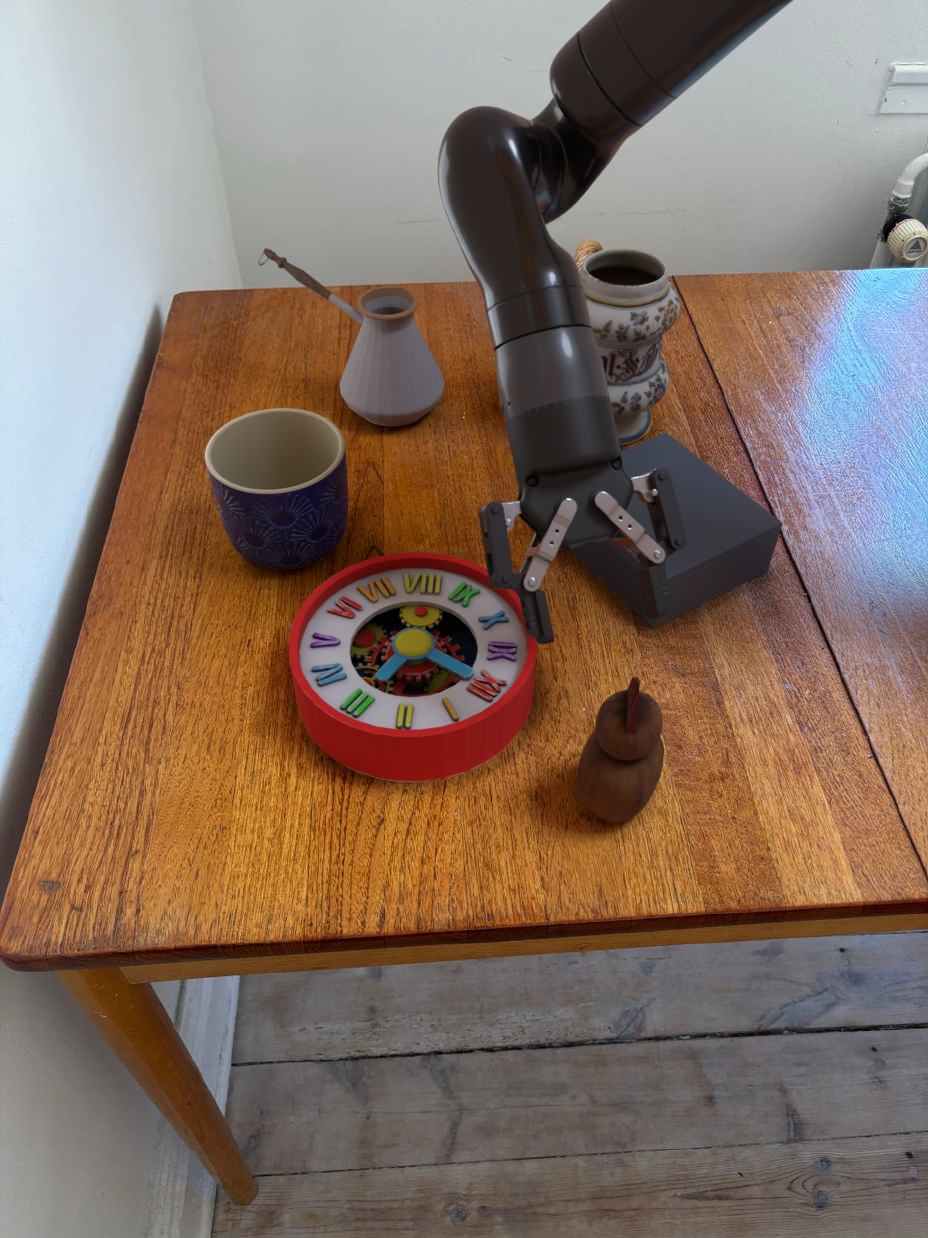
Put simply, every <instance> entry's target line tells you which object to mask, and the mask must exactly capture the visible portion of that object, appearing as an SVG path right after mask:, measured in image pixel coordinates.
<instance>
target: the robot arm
mask: <svg viewBox="0 0 928 1238" xmlns="http://www.w3.org/2000/svg"><path fill="white" fill-rule="evenodd" d="M793 1H794V0H609V1H608V2H607V3H606V4H605V5H604V6H603V7H602V8H601V9H600V10H598V11H597V13H595V14H594V16H592V17H591V18H590V19H589V20H588V21H587V22H586V23H585V24H584V25H583V26H582V27H581V28H580V29H579V30H577V31H576V32H575V33H574V34H573V35H572V36H571V37H570V38H569V39H568V40H567V41H566V42H565V43H564V45H563V46H562V47H561V48H560V49H559V51H558V52H557V53H556V55H555V56H554V57H553V60H552V62H551V64H550V68H549V72H548V74H549V75H548V77H549V86H550V91H551V93H552V98H551V100H550V101H549V102H548V103H547V105H546V106H545V108H543V109H542V110H541V112H539V113H538V114H537V115H536V116H534V117H533V118H531V119H529V118H527V117H524V116H522V115H519V114H516V113H514V112H511V111H509V110H507V109H505V108H504V109H503V108H500V107H498V106H490V105H479V106H474V107H470V108H468V109H466V110H465V111H463V112H461V113H459V114H458V115H457V116H456V117H455V118H454V119H453V120H452V122H450V124H449V125H448V127H447V129H446V130H445V132H444V135H443V137H442V140H441V143H440V147H439V151H438V157H437V183H438V189H439V194H440V199H441V202H442V206H443V209H444V212H445V215H446V217H447V219H448V220H447V221H448V223H449V225H450V227H451V230H452V232H453V234H454V237H455V239H456V241H457V243H458V245H459V247H460V249H461V253H462V254H463V257H464V259H465V261H466V263H467V266H468V268H469V270H470V272H471V273H472V275H473V276H472V277H473V278H474V280H475V281H476V282H477V285H478V287H479V289H480V292H481V295H482V298H483V299H482V300H483V304H484V311H485V315H486V321H487V326H488V331H489V334H490V339H491V343H492V349H493V352H494V354H493V355H494V361H495V372H496V373H495V375H496V385H497V391H498V396H499V408H500V412H501V414H502V416H503V420H504V424H505V429H506V433H507V434H506V435H507V438H508V443H509V448H510V453H511V458H512V462H513V467H514V472H515V477H516V481H517V485H518V496H517V499H516V500H514V501H508V502H507V501H506V502H499V501H497V500H494V501H490V502H488V503H485V504H483V505H481V507H480V508H479V509H478V520H479V525H480V534H481V539H482V546H483V553H484V559H485V565H486V568H487V573H488V580H489V584H490V585H491V586H492V587H493V588H500V589H507V590H512V591H514V592H516V593H517V595H518V596H519V599H520V604H521V609H522V614H523V617H524V622H525V628H526V631H527V633H528V634H529V636H530V637H534V638H536V640H537V645H548V644H552V643H555V634H554V630H553V625H552V620H551V615H550V611H549V606H548V601H547V596H546V591H545V590H544V589H543V590H541V588H540V587H541V585H542V583H543V580H544V578H545V575H546V574H547V571H548V570H549V566H550V565H551V564H552V563H553V562H554V560H555V558H556V556H557V554H558V552H564V551H569V550H570V549H574V548H579V547H581V546H583V545H585V544H589V545H591V544H597V543H602V542H606V541H610V539H611V540H612V541H613V542H614V543H615V544H617V545H618V546H620V547H622V548H624V549H625V550H626V551H627V552H628V553H629V554H630V555H631V556H632V557H634V558H635V559H636V560H637V561H638V562H639V563H640V566H641V568H638V569H637V574H638V579H639V584H640V588H641V593H642V598H643V603H644V608H645V613H646V615H647V617H648V618H654V619H656V618H660V617H665V616H666V608H667V607H670V603H671V596H670V592H669V587H668V582H667V577H666V572H665V566H664V564H665V560H666V559H667V557H668V556H670V555H671V554H673V553H674V552H676V551H677V550H681V549H683V548H684V547H685V546H686V543H687V539H686V535H685V532H684V528H683V524H682V520H681V516H680V512H679V509H678V505H677V501H676V497H675V493H674V489H673V485H672V482H671V478H670V474H669V472H668V471H667V470H666V469H665V468H659V469H654V470H651V471H649V472H647V473H645V474H643V475H640V476H637V477H633V478H630V477H629V476H628V475H627V473H626V472H625V470H624V468H623V465H622V456H621V451H622V450H621V446H620V445H619V440H618V435H617V430H616V425H615V420H614V416H613V410H612V406H611V401H610V396H609V391H608V386H607V381H606V376H605V372H604V367H603V363H602V359H601V355H600V352H599V350H598V347H597V344H596V341H595V338H594V335H593V331H592V329H591V328H592V326H591V321H590V316H589V311H588V306H587V301H586V296H585V291H584V287H583V283H582V279H581V275H580V268H579V266H578V263H577V261H576V259H575V258H574V257H573V255H572V254H571V253H570V252H569V251H568V250H567V249H565V248H564V247H563V246H561V245H560V244H559V243H557V242H556V241H555V239H553V238H552V236H551V234H550V232H549V230H548V228H547V225H548V224H551V223H552V222H554V221H557V220H558V219H559V218H560V217H562V216H564V215H565V214H566V213H567V212H568V211H570V210H571V209H572V208H573V207H574V206H575V205H576V204H577V203H578V202H579V201H580V200H581V199H582V198H583V196H584V195H585V194H586V193H587V191H588V190H589V189H590V188H591V187H592V185H593V184H594V183H595V181H597V179H598V178H599V177H600V175H601V174H602V173H603V172H604V171H605V170H606V168H607V167H608V166H609V164H610V163H611V162H612V160H613V159H614V157H615V156H616V154H618V151H619V150H620V149H621V147H622V146H623V145H624V143H625V142H626V141H627V140H628V139H629V138H630V137H632V135H634V134H636V133H637V132H638V131H639V130H641V129H642V128H643V127H645V125H646V124H647V125H648V123H650V122H651V121H652V120H653V119H655V117H657V116H658V115H659V114H660V113H661V112H663V111H664V110H665V109H666V108H667V107H669V106H670V105H671V104H672V103H674V101H676V100H677V99H678V98H679V97H681V95H683V94H684V93H686V92H687V91H688V90H689V89H690V88H691V87H692V86H694V85H695V84H696V83H697V82H698V81H700V80H701V79H702V78H703V77H704V76H705V75H707V74H708V73H709V72H710V71H712V69H713V68H715V67H716V66H717V65H718V64H719V63H721V62H722V61H723V60H724V59H725V58H726V57H728V55H730V54H731V53H732V52H733V51H735V50H736V49H737V48H738V47H739V46H740V45H741V44H743V43H744V42H745V41H747V39H749V38H750V37H751V36H752V35H754V34H755V33H756V32H757V31H758V30H759V29H760V28H761V27H763V26H765V24H766V23H767V22H769V21H770V20H771V19H772V18H774V17H775V16H776V15H777V14H778V13H780V12H781V11H782V10H783V9H785V8H786V7H787V6H788V5H790V4H791V3H792V2H793ZM633 492H634V493H636V494H637V495H638V497H639V499H640V501H641V502H643V503H647V507H648V511H649V514H650V518H651V522H652V526H653V530H654V533H655V537H656V541H654V540H653V539H652V538H651V537H650V536H649V535H648V534H647V533H646V530H645V529H644V528H643V527H642V526H641V525H640V524H639V523H638V522H637V521H636V520H635V519H634V518H633V517H632V516H631V515H630V514H628V513H627V512H626V510H627V507H628V505H629V502H630V500H631V498H632V495H633ZM517 516H518V517H519V518H520V519H521V521H522V522H524V523H525V524H526V525H527V526H528V527H529V528H530V529H531V530H532V531H534V533H533V536H532V538H531V540H530V541H529V545H528V546H527V548H526V550H525V554H524V559H523V561H522V563H521V565H520V568H519V571H518V572H517V571H514V569H513V563H512V555H511V554H512V553H511V549H510V542H509V535H508V533H509V532H511V531H512V530H513V529H514V527H515V519H516V517H517ZM628 526H629V527H628Z"/></svg>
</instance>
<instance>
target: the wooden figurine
mask: <svg viewBox="0 0 928 1238" xmlns="http://www.w3.org/2000/svg"><path fill="white" fill-rule="evenodd" d="M640 686H641V679H639V677H638V676H632V677H631V679H630V682H629V684H628V687H627V689H624V690H620V691H616V692H614V693H613V694H611V695H609V696H608V697H607V698H605V700H604V701H603V702H602V704H601V705H600V707H599V709H598V712H597V715H596V718H595V723H594V724H595V725H594V730H593V731H592V732H591V734H590V735H589V737H588V739H587V740H586V742H585V745H584V747H583V749H582V750H581V753H580V757H579V761H578V764H577V767H576V771H575V778H574V782H575V786H576V790H577V792H578V795H579V796H580V798H581V800H582V803H583V804H584V807H585V808H586V809H587V810H588V811H589V812H591V813H592V814H593V815H594V816H595V817H597V818H599V819H601V820H604V821H605V822H609V823H611V822H612V823H622V822H627V821H630V820H632V819H633V818H635V817H636V816H638V815H639V814H640V813H641V812H642V811H643V810H644V809H645V808H646V806H647V805H648V803H649V802H650V800H651V798H652V797H653V795H654V793H655V790H656V788H657V785H658V784H659V781H660V778H661V776H662V772H663V771H662V770H663V765H664V758H665V745H664V741H663V739H662V737H661V736H662V735H661V734H662V732H663V726H664V725H663V724H664V723H663V715H662V710H661V708H660V707H659V704H658V702H657V701H656V700H655V699H654V698H653V696H651V695H650V694H649V693H646V692H643V691H641V690H640V688H641V687H640Z"/></svg>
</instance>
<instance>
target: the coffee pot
mask: <svg viewBox="0 0 928 1238" xmlns="http://www.w3.org/2000/svg"><path fill="white" fill-rule="evenodd" d="M264 255H265V257H266V259H265V260H264V261H263V262H261V260H262V258H263V257H264ZM269 260H270V261H274V262H275V263H276V266H277V268H278V269H284V270H285V272H287V273H288V274H289V275H290V276H291V277H292V278H294V280H295V281H297V282H298V283H299V284H302V285H303V286H305V287H306V288H307V289H308V290H311V291H313V292H314V293H315V294H317V295H319V296H320V297H322V298H324V299H325V300H326V301H329V302H331V303H332V304H333V305H335V306H336V307H337V308H339V310H342V311H343V312H344V313H346V315H348V316H349V317H350V318H352V319H353V320H355V321H356V322H357V323H359V324H360V325H361V327H360V329H359V332H358V334H357V337H356V340H355V342H354V345H353V347H352V350H351V352H350V355H349V357H348V361H347V362H346V365H345V368H344V370H343V373H342V376H341V379H340V382H339V390H340V395H341V397H342V398H343V400H344V402H345V403H346V405H347V406H348V408H349V409H350V410H351V411H353V412H354V413H355V414H356V415H358V416H359V417H361V418H363V419H365V420H366V421H367V422H369V423H371V424H374V425H377V426H382V427H392V428H393V427H403V426H407V425H410V424H413V423H416V422H417V421H419V420H420V419H421V418H423V417H425V415H427V414H428V413H429V412H431V411H432V410H433V409H434V408H435V407H436V406H437V404H438V403H439V401H440V400H441V398H442V396H443V394H444V390H445V385H446V384H445V383H446V382H445V380H444V377H443V376H444V375H443V373H442V371H441V369H440V367H439V365H438V363H437V361H436V359H435V358H434V356H433V354H432V352H431V349H430V348H429V346H428V344H427V342H426V340H425V338H424V336H423V334H422V332H421V330H420V328H419V326H418V325H417V322H416V320H415V319H414V315H415V313H416V311H417V310H418V308H419V305H420V300H419V297H418V296H417V295H416V293H415V292H413V290H411V289H410V288H408V287H406V286H402V285H401V286H400V285H383V286H377V287H372V288H370V289H367V290H365V291H364V292H362V293H361V294H360V295H359V296H358V297H357V299H356V303H355V304H356V308H357V309H356V308H354V307H353V306H352V305H349V303H346V302H345V301H344V300H342V299H341V298H339V297H338V296H336V295H335V294H333V291H330V289H328V288H327V287H326V286H325V285H322V284H321V283H320V282H319V281H318V280H316V279H315V278H314V277H313V276H311V275H310V274H309V273H308V272H306V270H304V269H301V268H300V267H297V266H296V265H294V264H292V263H290V262H288V260H287V257H285V256H282V257H281V256H279V255H277V253H276V252H275V251H273V250H272V249H271V248H264V249H263V251H262V253H261V254H260V256H259V258H258V260H257V265H259V266H264V265H265V264H266V263H267V262H268V261H269Z"/></svg>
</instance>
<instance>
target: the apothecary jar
mask: <svg viewBox="0 0 928 1238" xmlns="http://www.w3.org/2000/svg"><path fill="white" fill-rule="evenodd" d="M579 272H580V275H581V279H582V283H583V287H584V291H585V296H586V301H587V306H588V311H589V316H590V321H591V326H592V328H591V329H592V331H593V335H594V338H595V341H596V344H597V347H598V350H599V352H600V355H601V359H602V363H603V367H604V372H605V376H606V381H607V386H608V391H609V396H610V401H611V406H612V410H613V416H614V420H615V425H616V430H617V435H618V440H619V445H620V447H621V446H627V445H631V444H634V443H636V442H637V441H640V440H641V439H644V437H645V436H646V435H647V434H648V433H649V432H650V431H651V428H652V427H653V416H652V413H651V411H650V409H651V408H652V407H654V406H655V405H656V404H658V403H659V402H660V401H661V400H662V398H664V396H665V395H666V393H667V391H668V389H669V386H670V380H671V375H670V374H671V373H670V371H669V370H670V368H669V366H668V364H667V362H666V360H665V359H664V357H663V355H662V347H663V341H664V340H663V339H664V334H665V333H667V332H668V331H669V330H670V329H671V328H672V327H673V326H674V324H675V323H676V322H677V320H678V318H679V316H680V312H681V299H680V295H679V294H678V293H679V292H677V291H678V290H676V288H675V287H674V285H673V284H672V283H671V282H670V281H669V268H668V266H667V264H666V263H665V261H664V260H663V259H661V258H660V257H659V256H657V255H655V254H654V253H652V252H648V251H646V250H642V249H638V248H632V247H614V248H613V247H611V248H606V249H602V250H598V251H595V252H593V253H591V254H589V255H588V256H587V257H586V258H585V259H584V260H583V261H582V263H581V266H580V269H579Z"/></svg>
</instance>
